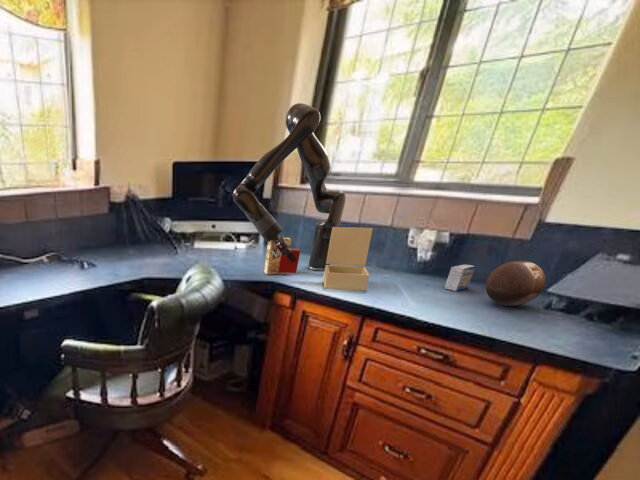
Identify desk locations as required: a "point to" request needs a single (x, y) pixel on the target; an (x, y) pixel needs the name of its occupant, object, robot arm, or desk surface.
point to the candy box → (273, 258)
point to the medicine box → (459, 277)
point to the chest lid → (349, 246)
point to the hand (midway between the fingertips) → (294, 259)
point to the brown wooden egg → (515, 283)
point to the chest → (345, 277)
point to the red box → (289, 262)
